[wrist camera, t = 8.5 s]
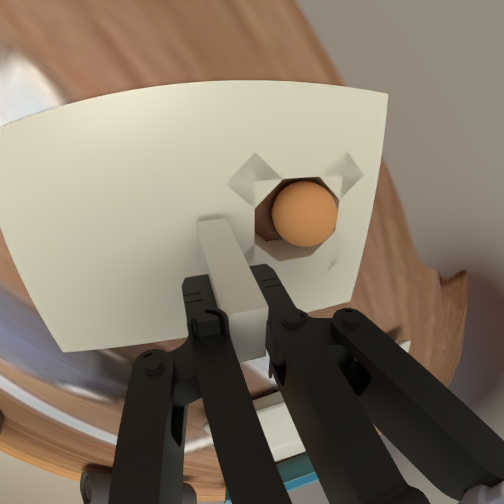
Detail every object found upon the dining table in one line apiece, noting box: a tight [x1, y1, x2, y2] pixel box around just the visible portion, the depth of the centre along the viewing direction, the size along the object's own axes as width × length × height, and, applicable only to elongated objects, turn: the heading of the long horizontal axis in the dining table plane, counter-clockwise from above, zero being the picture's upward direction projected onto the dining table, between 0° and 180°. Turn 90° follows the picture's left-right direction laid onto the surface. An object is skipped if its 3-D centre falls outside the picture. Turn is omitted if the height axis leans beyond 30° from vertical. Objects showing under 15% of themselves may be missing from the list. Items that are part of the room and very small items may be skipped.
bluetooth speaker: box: [80, 470, 197, 504], centre depth 38 cm, size 23×9×10 cm, turn 47°
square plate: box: [202, 340, 411, 461], centre depth 38 cm, size 27×27×4 cm
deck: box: [0, 80, 388, 352], centre depth 17 cm, size 16×23×2 cm
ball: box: [272, 181, 337, 247], centre depth 18 cm, size 4×4×4 cm
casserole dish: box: [224, 452, 319, 504], centre depth 58 cm, size 37×22×7 cm, turn 110°
